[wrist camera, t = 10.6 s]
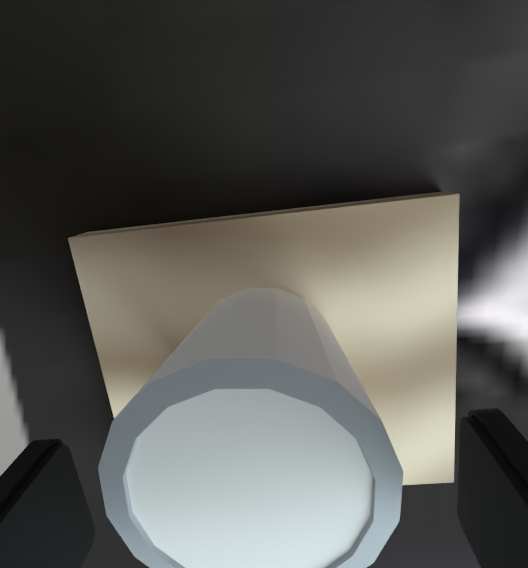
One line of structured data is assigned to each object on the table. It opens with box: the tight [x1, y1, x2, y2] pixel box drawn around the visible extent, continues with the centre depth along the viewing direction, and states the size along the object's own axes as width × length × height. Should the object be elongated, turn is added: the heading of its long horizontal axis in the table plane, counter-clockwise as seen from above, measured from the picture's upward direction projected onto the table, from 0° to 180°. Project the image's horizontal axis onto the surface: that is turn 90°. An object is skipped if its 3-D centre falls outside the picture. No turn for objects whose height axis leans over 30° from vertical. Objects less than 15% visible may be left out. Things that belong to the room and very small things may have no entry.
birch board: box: [68, 192, 459, 485], centre depth 16 cm, size 12×14×2 cm
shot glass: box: [98, 288, 403, 568], centre depth 12 cm, size 7×7×7 cm
